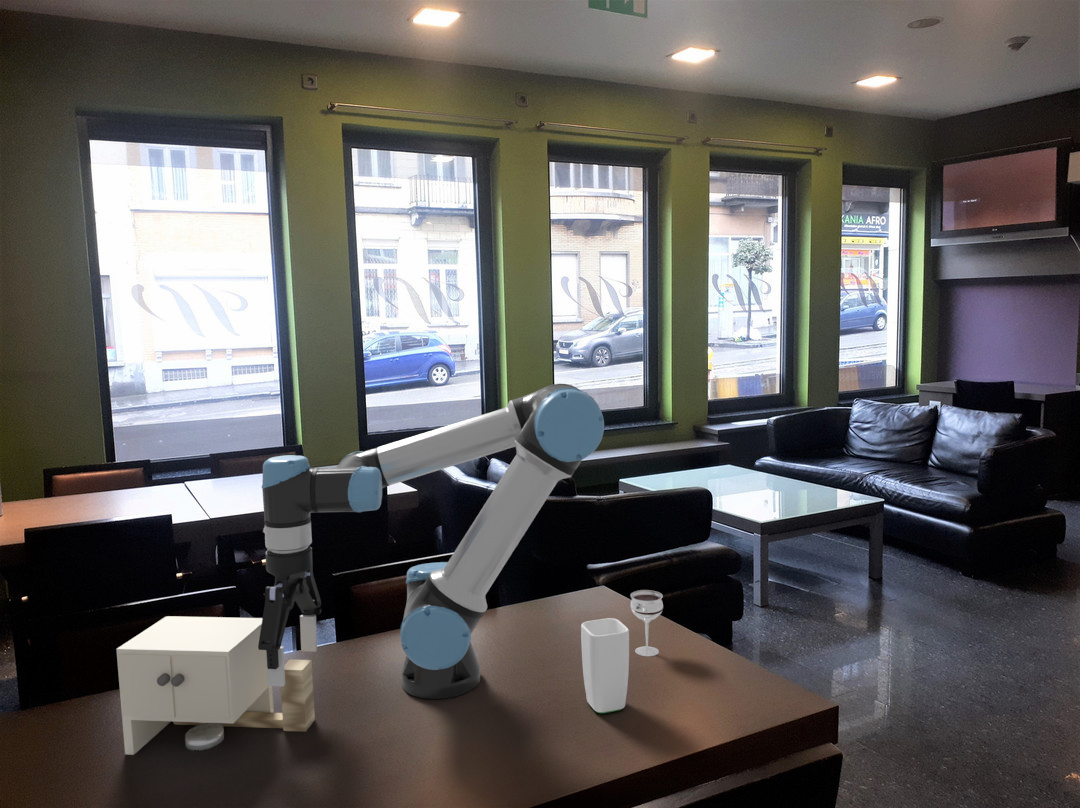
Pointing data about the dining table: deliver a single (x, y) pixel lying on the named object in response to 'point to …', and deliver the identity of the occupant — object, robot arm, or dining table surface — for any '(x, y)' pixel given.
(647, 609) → the wineglass
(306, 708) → the l-shaped wooden piece
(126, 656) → the cabinet
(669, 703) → the dining table surface
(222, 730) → the disc
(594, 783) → the dining table surface
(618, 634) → the cup
